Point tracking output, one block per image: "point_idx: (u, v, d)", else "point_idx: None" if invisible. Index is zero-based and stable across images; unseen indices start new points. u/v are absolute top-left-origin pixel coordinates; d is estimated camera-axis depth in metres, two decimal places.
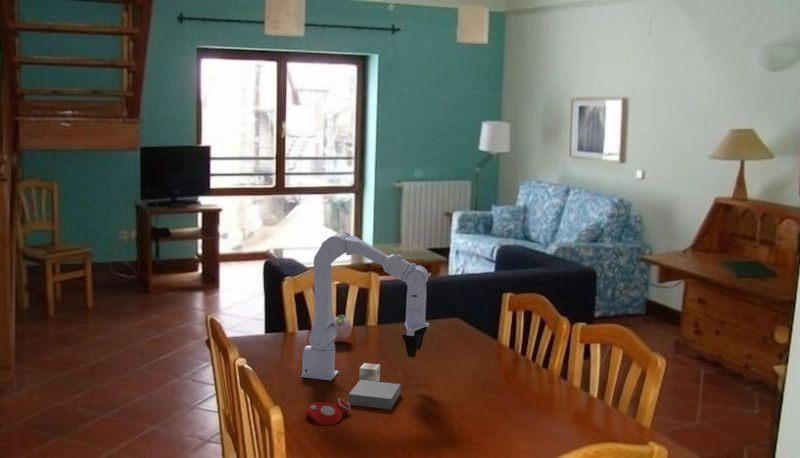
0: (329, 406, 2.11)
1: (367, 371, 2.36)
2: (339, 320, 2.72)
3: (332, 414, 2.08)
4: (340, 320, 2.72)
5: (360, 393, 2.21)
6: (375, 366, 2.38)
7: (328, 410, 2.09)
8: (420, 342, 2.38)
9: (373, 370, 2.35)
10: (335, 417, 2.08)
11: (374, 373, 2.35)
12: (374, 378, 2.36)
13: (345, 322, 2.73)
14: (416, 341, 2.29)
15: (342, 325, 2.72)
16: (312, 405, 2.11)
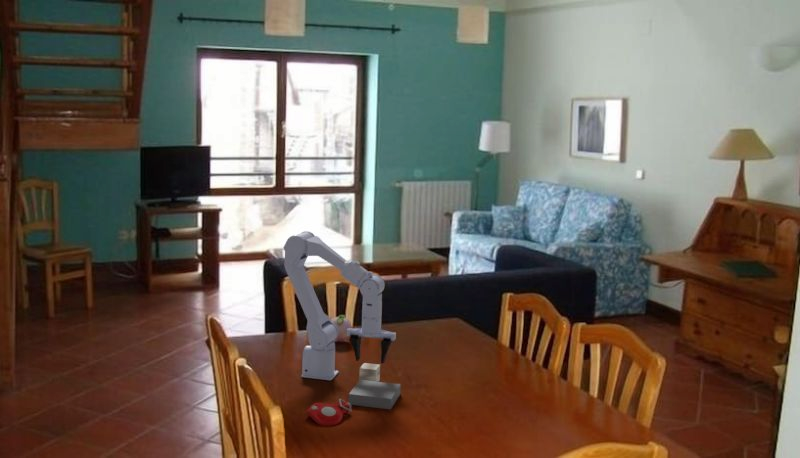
0: (330, 407, 2.10)
1: (367, 371, 2.36)
2: (339, 320, 2.72)
3: (333, 415, 2.08)
4: (340, 320, 2.72)
5: (360, 393, 2.21)
6: (375, 366, 2.38)
7: (329, 411, 2.08)
8: None
9: (373, 370, 2.35)
10: (336, 418, 2.08)
11: (374, 373, 2.35)
12: (374, 378, 2.36)
13: (345, 322, 2.73)
14: None
15: (342, 325, 2.72)
16: (313, 406, 2.11)
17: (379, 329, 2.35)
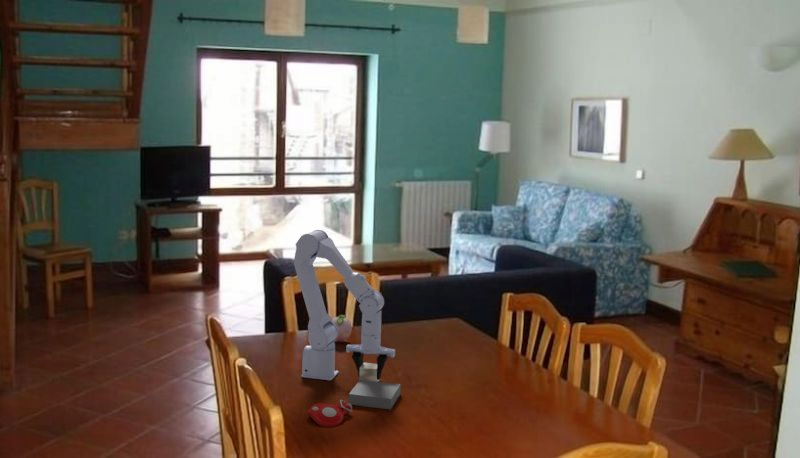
0: (331, 407, 2.10)
1: (367, 370, 2.36)
2: (339, 320, 2.72)
3: (333, 416, 2.07)
4: (340, 320, 2.72)
5: (360, 393, 2.21)
6: (375, 366, 2.38)
7: (330, 411, 2.08)
8: None
9: (373, 370, 2.35)
10: (336, 419, 2.07)
11: (374, 373, 2.35)
12: (374, 378, 2.36)
13: (345, 322, 2.73)
14: None
15: (342, 325, 2.72)
16: (314, 406, 2.10)
17: (378, 346, 2.36)
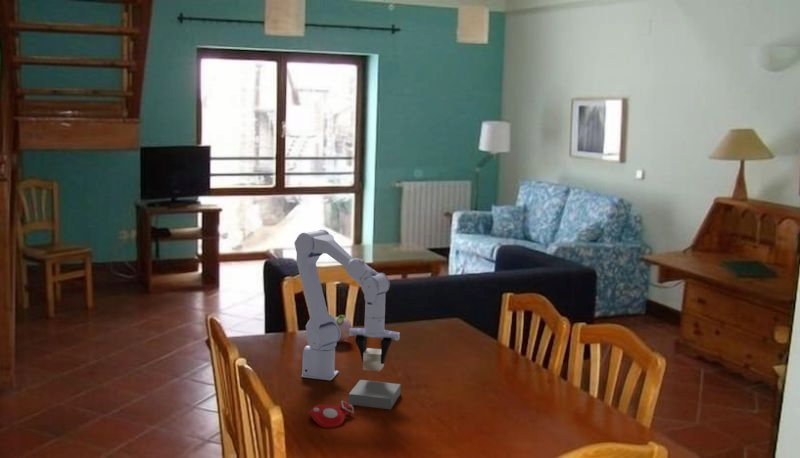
0: (332, 408, 2.09)
1: (371, 355, 2.29)
2: (339, 320, 2.72)
3: (334, 417, 2.06)
4: (340, 320, 2.72)
5: (360, 393, 2.21)
6: (379, 351, 2.31)
7: (331, 412, 2.07)
8: None
9: (377, 355, 2.28)
10: (337, 420, 2.06)
11: (378, 358, 2.28)
12: (378, 363, 2.28)
13: (345, 322, 2.73)
14: None
15: (342, 325, 2.72)
16: (315, 407, 2.10)
17: (382, 329, 2.28)
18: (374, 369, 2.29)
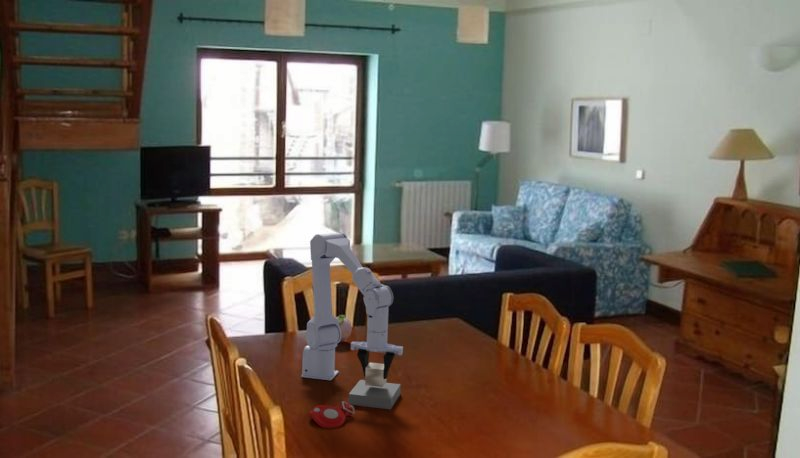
0: (332, 409, 2.09)
1: (373, 371, 2.22)
2: (339, 320, 2.72)
3: (335, 417, 2.06)
4: (340, 320, 2.72)
5: (360, 393, 2.21)
6: (382, 366, 2.24)
7: (331, 413, 2.07)
8: None
9: (380, 370, 2.21)
10: (338, 420, 2.06)
11: (381, 373, 2.21)
12: (381, 378, 2.22)
13: (345, 322, 2.73)
14: None
15: (342, 325, 2.72)
16: (315, 408, 2.09)
17: (385, 343, 2.21)
18: (377, 384, 2.22)
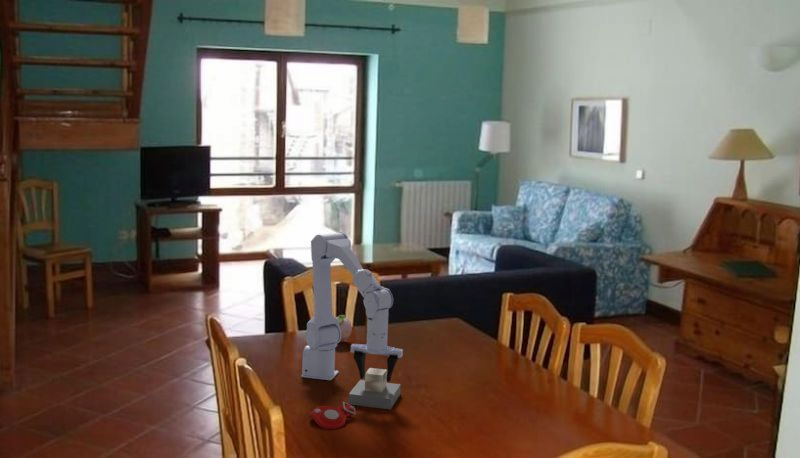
0: (333, 410, 2.08)
1: (373, 376, 2.22)
2: (339, 320, 2.72)
3: (336, 418, 2.06)
4: (340, 320, 2.72)
5: (360, 393, 2.21)
6: (382, 371, 2.24)
7: (332, 414, 2.06)
8: None
9: (379, 375, 2.22)
10: (339, 421, 2.06)
11: (380, 379, 2.22)
12: (380, 384, 2.22)
13: (345, 322, 2.73)
14: None
15: (342, 325, 2.72)
16: (316, 408, 2.09)
17: (385, 345, 2.21)
18: (376, 390, 2.22)
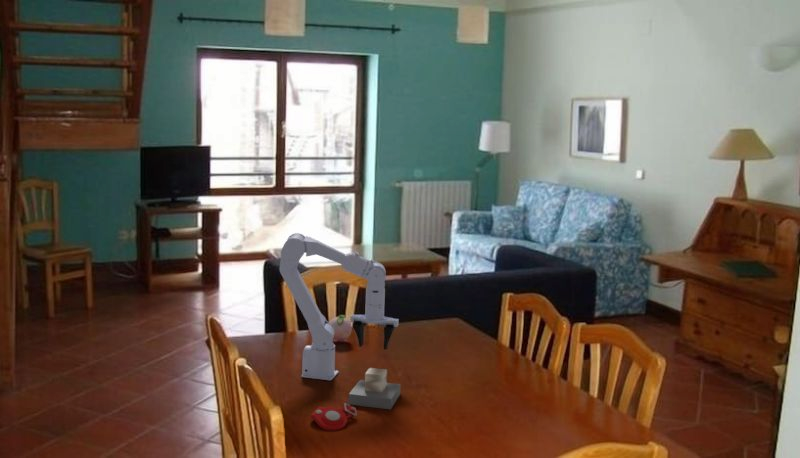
0: (334, 411, 2.07)
1: (373, 376, 2.22)
2: (339, 320, 2.72)
3: (337, 419, 2.05)
4: (340, 320, 2.72)
5: (360, 393, 2.21)
6: (382, 371, 2.24)
7: (333, 415, 2.06)
8: None
9: (379, 375, 2.22)
10: (340, 422, 2.05)
11: (380, 379, 2.22)
12: (380, 384, 2.22)
13: (345, 322, 2.73)
14: None
15: (342, 325, 2.72)
16: (317, 410, 2.08)
17: (382, 315, 2.39)
18: (376, 390, 2.22)
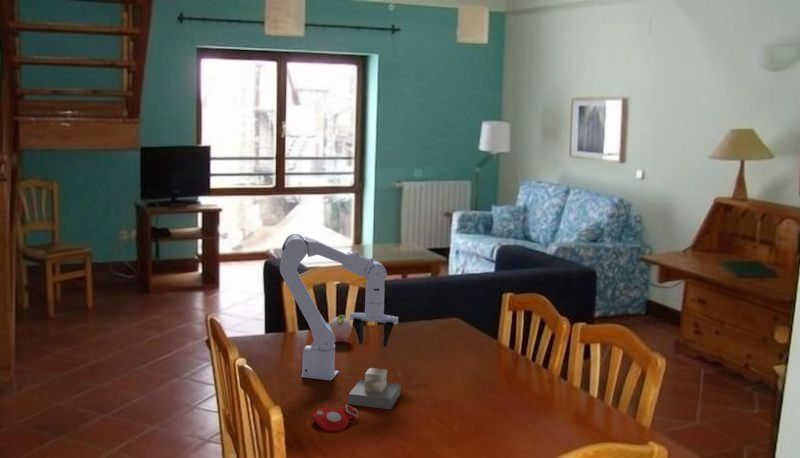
0: (335, 412, 2.07)
1: (373, 376, 2.22)
2: (339, 320, 2.72)
3: (338, 420, 2.04)
4: (340, 320, 2.72)
5: (360, 393, 2.21)
6: (382, 371, 2.24)
7: (334, 416, 2.05)
8: None
9: (379, 375, 2.22)
10: (341, 423, 2.04)
11: (380, 379, 2.22)
12: (380, 384, 2.22)
13: (345, 322, 2.73)
14: None
15: (342, 325, 2.72)
16: (318, 411, 2.07)
17: (382, 313, 2.41)
18: (376, 390, 2.22)
